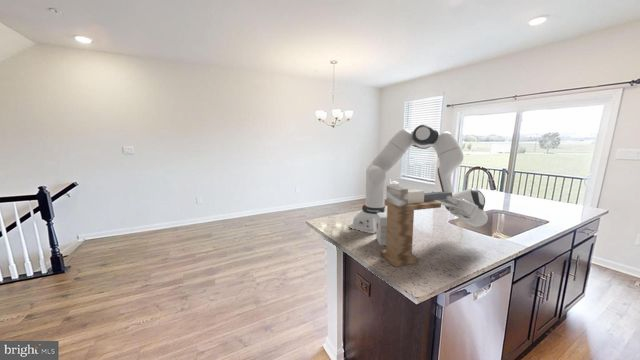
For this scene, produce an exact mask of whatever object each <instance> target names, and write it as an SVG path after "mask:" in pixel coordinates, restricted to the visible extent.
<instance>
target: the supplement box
mask: <svg viewBox="0 0 640 360" xmlns="http://www.w3.org/2000/svg"><path fill="white" fill-rule="evenodd" d="M386 236H387V212H385V213H381V212H380V213H377V232H376V241H377V243H378V245H379V246H386Z"/></svg>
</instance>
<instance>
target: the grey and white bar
mask: <svg viewBox="0 0 640 360" xmlns="http://www.w3.org/2000/svg"><path fill="white" fill-rule="evenodd" d="M447 196H450V197H452V192H449V191H444V192H442V191H431V192H425V190H424V189H423V190H422V189H419V188H411V189H408V204H410V203H420V202H424V201H434V200H445V199H446V197H447Z"/></svg>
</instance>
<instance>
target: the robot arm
mask: <svg viewBox="0 0 640 360" xmlns="http://www.w3.org/2000/svg"><path fill="white" fill-rule="evenodd" d="M411 147H414V148H418V149H423V150H427V149H429V148H433V149H434V151H435V153H436V156H437V157H438V160H439V166H438V168H437V175H438V179H439V184H440V188H441V192H444V191H449V192H452V197H450V196H447V197H446V199H445V200H434V201H437V202H440V203H441V206H444V207H445V209H446V210H447V211H448V212H450V213H451V214H452V215H453V216H455V217H457V218H458V219H460V220H462V221H463V222H464V223H466V224H468V225H471V226H473V227H476V228H477V227H478V228H479V227H482V226H484V225H486V223H487V222H488V219H489V217H488V215H487V213H486V212H485V210H484V208H485V205H486V197H485V195H484V194H483V193H482V191H481V190H479V189H477V188H476V187H475V188H474V187H472V188H471V187H470V188H468V189H465V190H462V191H459V192H454V188H453V185H452V181H451V176H452V174H453V173H454V171H456V170H457V169H458V168H459V167H460V166H461V165H462V163H463V161H464V154H463V150H462V148H461V147H460V144H459V143H458V141H457V139H456V138H455V136H454V135H453V133H451V132H450V131H442V132H439V131H438V130H436V129H435V128H433V127H432V126H430V125H428V124H420V125H418V126H417V127H415V128H414V129H413V131H411V130H409V129H407V128H402V129H400V130H399V131H397V132H396V133H395V134H394V135H393V136H392V138H391V139H390V140H389V141H388V142H387V144H386V145H385V146H384V147H383V149H382V150H381V151H380V152H379V153H378V155H377V156H376V157H375V158H374V159H373V161H371V163H370V164H369V165H368V166H367V168H366V171H365V176H366V177H365V180H366V181H365V183H366V184H365V203H364V204H363V205H362V207H361V210H362V211H360V212H359V213H356V214H355V216H354V217H353V218H352V221H351V222H350V223H349V226H348V228H349V227H350V228H352V229H351V230H354V229H356V230H355V231H358V230H360V232H363V231H364V232H363V233H368V234H374V233H377V213H380V212H381V213H386V206H385V200H386V199H385V198H386V197H385V195H386V187H387V184H386V183H387V182H386V181H387V173H389V171H390V170H391V169H392V168H393V167H395V166H396V164H398V162H399V161H400V159H401V158H402V157H404V155H405V154H406V152H407V151H408V150H409V148H411ZM350 228H349V229H350Z"/></svg>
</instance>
